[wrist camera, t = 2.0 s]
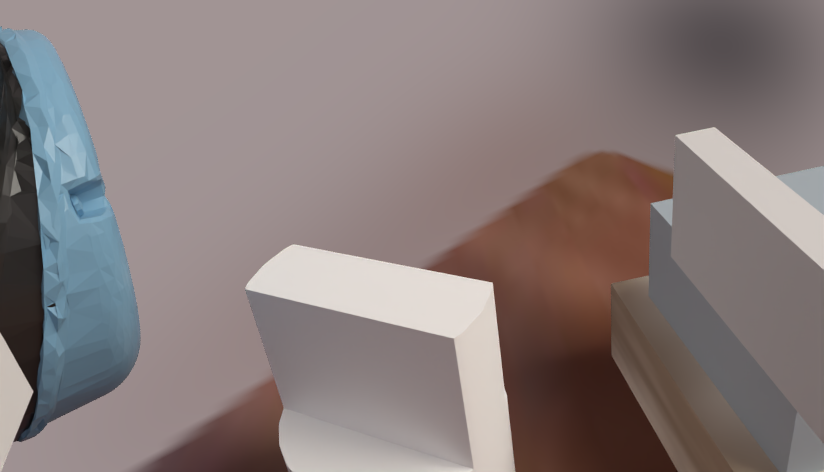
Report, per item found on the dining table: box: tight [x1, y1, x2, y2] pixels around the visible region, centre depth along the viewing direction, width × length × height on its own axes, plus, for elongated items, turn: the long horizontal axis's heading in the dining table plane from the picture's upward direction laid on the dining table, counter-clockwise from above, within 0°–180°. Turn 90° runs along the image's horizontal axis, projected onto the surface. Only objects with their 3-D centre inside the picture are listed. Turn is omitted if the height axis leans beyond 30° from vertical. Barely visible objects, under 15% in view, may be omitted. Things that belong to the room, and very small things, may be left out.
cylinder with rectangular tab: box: [245, 244, 515, 472], centre depth 30 cm, size 9×9×12 cm
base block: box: [611, 276, 824, 472], centre depth 33 cm, size 13×13×5 cm
